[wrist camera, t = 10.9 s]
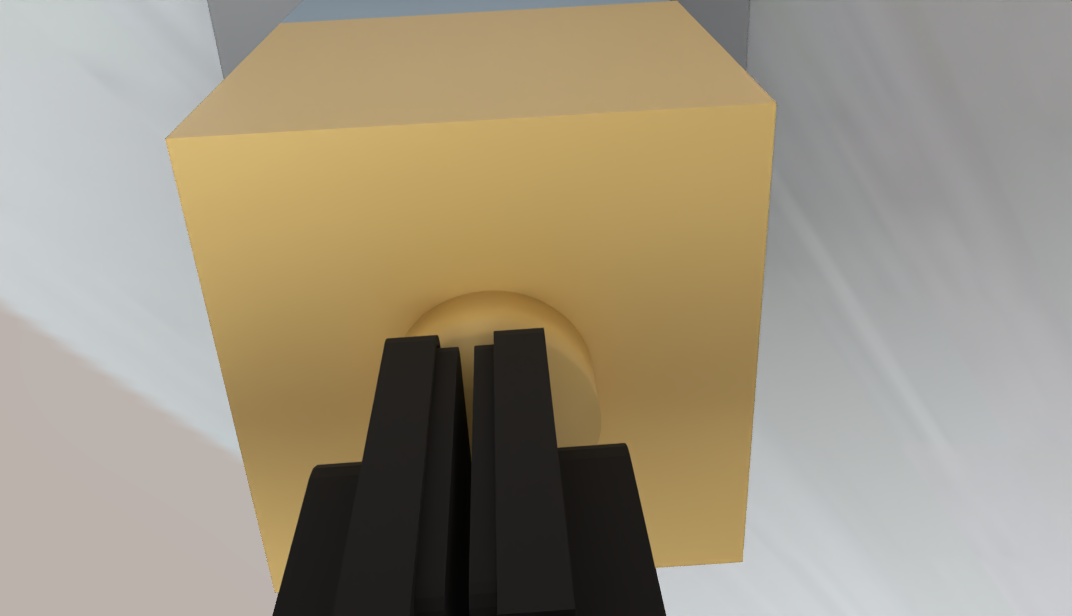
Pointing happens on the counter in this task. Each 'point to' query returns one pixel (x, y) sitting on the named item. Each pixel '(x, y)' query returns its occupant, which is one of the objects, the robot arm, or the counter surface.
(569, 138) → the ochre brick
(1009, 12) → the counter surface
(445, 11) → the blue brick
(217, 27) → the baseplate
